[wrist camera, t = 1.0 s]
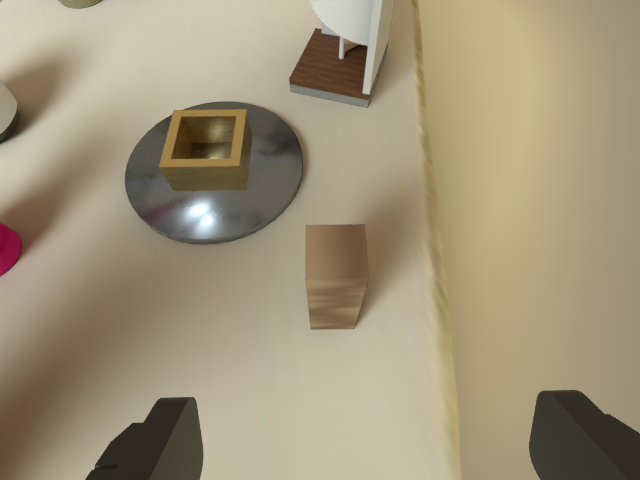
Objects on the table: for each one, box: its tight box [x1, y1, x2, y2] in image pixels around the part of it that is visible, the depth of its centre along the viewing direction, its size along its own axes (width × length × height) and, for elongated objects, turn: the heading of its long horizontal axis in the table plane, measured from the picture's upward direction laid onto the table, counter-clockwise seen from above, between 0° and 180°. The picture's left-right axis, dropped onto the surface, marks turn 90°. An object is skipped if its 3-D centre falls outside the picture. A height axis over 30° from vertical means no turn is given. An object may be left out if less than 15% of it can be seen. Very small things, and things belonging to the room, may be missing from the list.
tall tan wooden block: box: [305, 224, 369, 329], centre depth 29 cm, size 4×4×12 cm
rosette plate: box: [125, 102, 303, 244], centre depth 40 cm, size 20×20×5 cm
